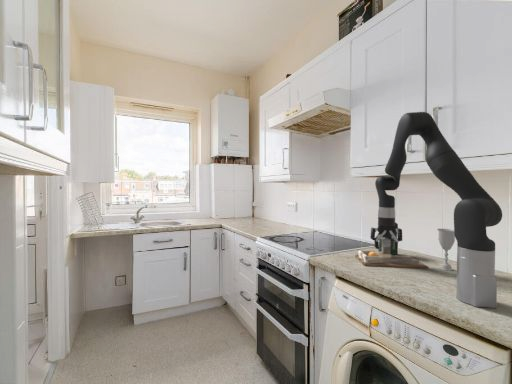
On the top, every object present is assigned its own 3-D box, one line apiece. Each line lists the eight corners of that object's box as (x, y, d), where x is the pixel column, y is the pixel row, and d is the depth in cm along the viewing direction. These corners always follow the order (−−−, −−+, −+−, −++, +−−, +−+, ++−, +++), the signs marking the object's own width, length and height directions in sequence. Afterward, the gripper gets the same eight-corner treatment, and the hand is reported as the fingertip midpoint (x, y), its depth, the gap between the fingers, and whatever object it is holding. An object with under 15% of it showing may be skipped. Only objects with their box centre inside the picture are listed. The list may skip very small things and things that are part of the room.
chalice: (443, 266, 119) (443, 228, 118) (459, 270, 112) (460, 230, 112) (433, 267, 116) (433, 229, 116) (449, 272, 109) (449, 231, 109)
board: (428, 268, 114) (428, 260, 114) (364, 265, 117) (364, 257, 117) (411, 259, 130) (411, 251, 130) (355, 256, 133) (355, 249, 133)
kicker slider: (391, 260, 121) (391, 240, 121) (382, 260, 122) (382, 239, 122) (387, 257, 126) (387, 238, 126) (378, 257, 127) (379, 238, 126)
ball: (368, 256, 123) (374, 262, 123) (374, 251, 123) (380, 256, 122) (365, 254, 127) (371, 260, 127) (371, 249, 127) (377, 254, 126)
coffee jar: (400, 256, 136) (401, 222, 136) (388, 256, 134) (388, 222, 134) (387, 251, 145) (388, 220, 145) (375, 252, 144) (376, 220, 144)
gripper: (374, 216, 121) (373, 250, 121) (405, 217, 119) (404, 251, 119) (369, 215, 128) (368, 246, 128) (398, 216, 126) (397, 247, 127)
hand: (386, 249), depth 124 cm, fingers open, 8 cm apart
